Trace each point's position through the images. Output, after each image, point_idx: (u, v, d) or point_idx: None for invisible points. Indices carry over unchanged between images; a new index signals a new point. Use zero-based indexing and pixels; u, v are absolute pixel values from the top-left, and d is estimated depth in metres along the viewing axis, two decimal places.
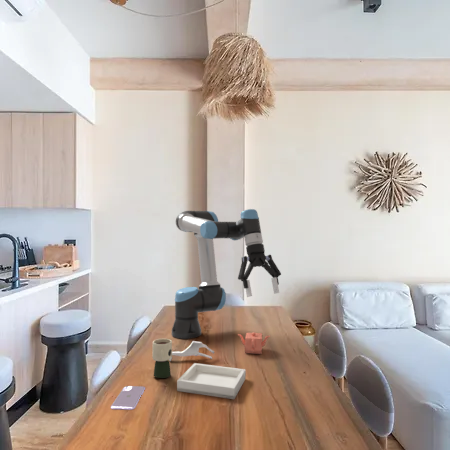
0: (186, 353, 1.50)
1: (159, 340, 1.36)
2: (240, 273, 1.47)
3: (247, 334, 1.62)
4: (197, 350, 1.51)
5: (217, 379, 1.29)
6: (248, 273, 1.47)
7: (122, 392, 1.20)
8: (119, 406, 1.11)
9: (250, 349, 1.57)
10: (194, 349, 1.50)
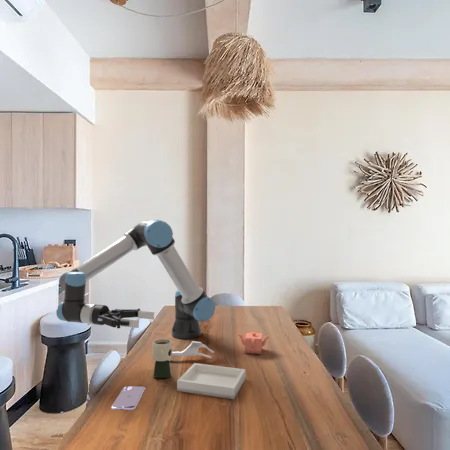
0: (186, 353, 1.50)
1: (159, 340, 1.36)
2: None
3: (247, 334, 1.62)
4: (197, 350, 1.51)
5: (217, 379, 1.29)
6: None
7: (122, 392, 1.20)
8: (119, 406, 1.11)
9: (250, 349, 1.57)
10: (194, 349, 1.50)
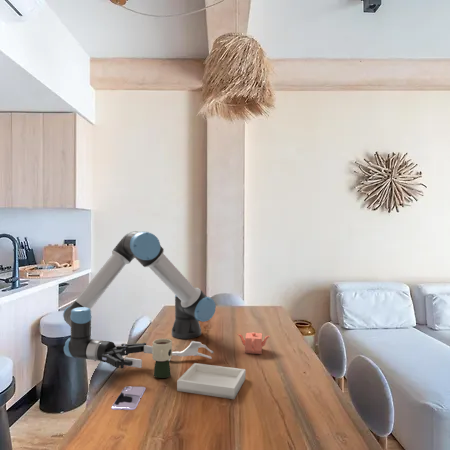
0: (185, 353, 1.50)
1: (159, 340, 1.36)
2: None
3: (247, 334, 1.62)
4: (196, 350, 1.50)
5: (217, 379, 1.29)
6: None
7: (122, 392, 1.20)
8: (120, 406, 1.11)
9: (250, 349, 1.57)
10: (193, 349, 1.50)
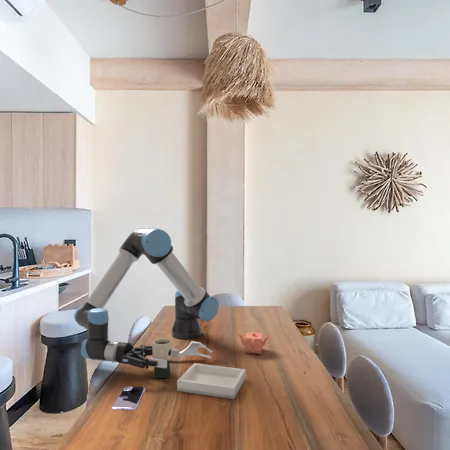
0: (185, 353, 1.50)
1: (159, 340, 1.36)
2: None
3: (247, 334, 1.62)
4: (196, 350, 1.50)
5: (217, 379, 1.29)
6: None
7: (122, 393, 1.20)
8: (120, 406, 1.11)
9: (250, 349, 1.57)
10: (193, 349, 1.50)
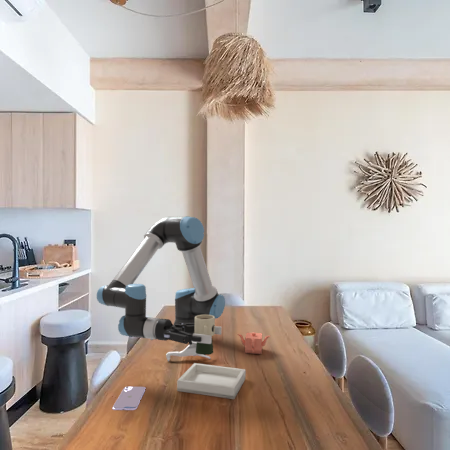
0: (184, 353, 1.50)
1: (201, 316, 1.30)
2: None
3: (247, 334, 1.62)
4: (195, 350, 1.50)
5: (217, 379, 1.29)
6: None
7: (123, 393, 1.19)
8: (121, 407, 1.10)
9: (250, 349, 1.57)
10: (192, 349, 1.50)
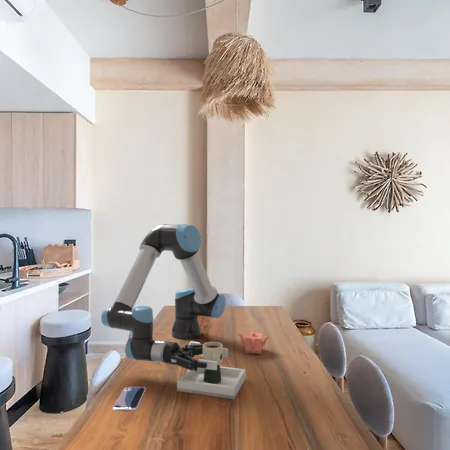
0: None
1: (208, 343, 1.30)
2: None
3: (247, 334, 1.62)
4: None
5: None
6: None
7: (123, 393, 1.19)
8: (121, 407, 1.10)
9: (250, 349, 1.57)
10: None
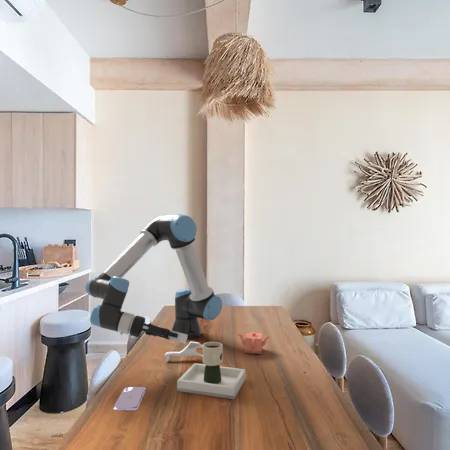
0: (184, 353, 1.50)
1: (208, 343, 1.30)
2: None
3: (247, 334, 1.62)
4: (195, 350, 1.50)
5: None
6: (163, 337, 1.42)
7: (123, 393, 1.19)
8: (122, 407, 1.10)
9: (250, 349, 1.57)
10: (192, 349, 1.50)
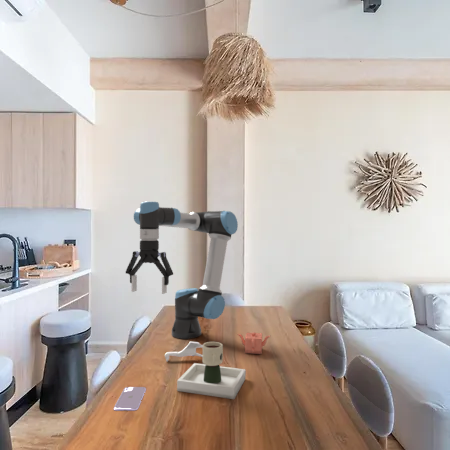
0: (183, 353, 1.49)
1: (208, 343, 1.30)
2: None
3: (247, 334, 1.62)
4: (194, 350, 1.50)
5: None
6: (134, 269, 1.47)
7: (123, 393, 1.19)
8: (122, 407, 1.10)
9: (250, 349, 1.57)
10: (191, 349, 1.50)
